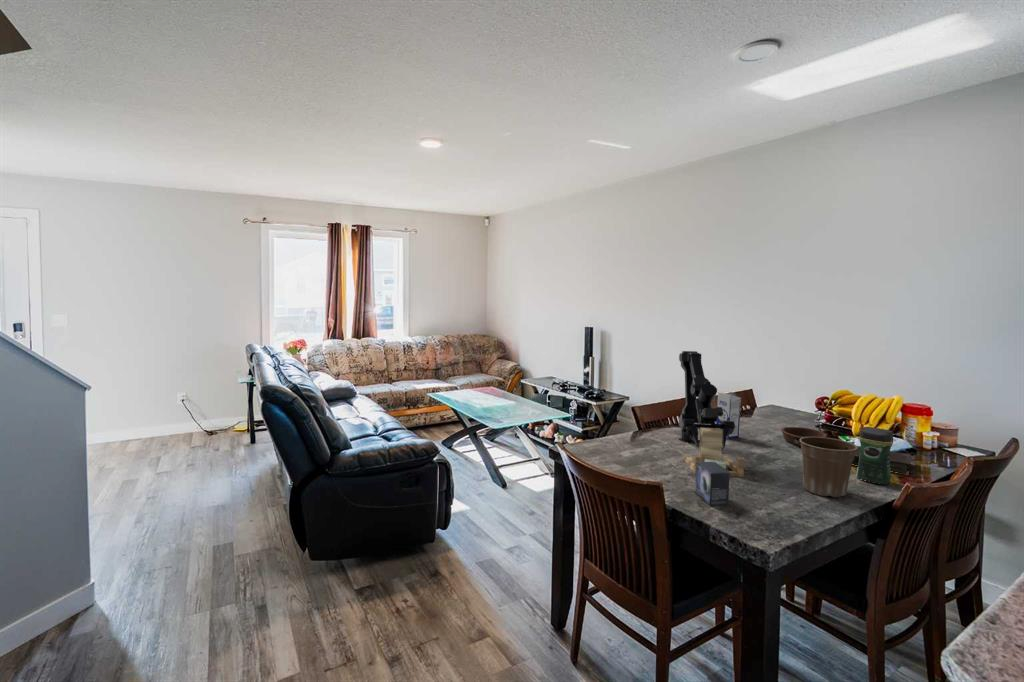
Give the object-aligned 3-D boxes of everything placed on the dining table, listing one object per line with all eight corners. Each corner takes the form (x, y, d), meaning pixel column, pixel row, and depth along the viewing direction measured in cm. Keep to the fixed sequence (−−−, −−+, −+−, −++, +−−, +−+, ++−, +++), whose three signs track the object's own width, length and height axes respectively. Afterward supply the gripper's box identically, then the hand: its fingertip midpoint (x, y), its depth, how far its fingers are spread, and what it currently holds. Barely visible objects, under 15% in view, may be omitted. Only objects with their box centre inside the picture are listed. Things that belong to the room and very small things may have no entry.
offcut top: (704, 463, 192) (704, 458, 192) (725, 465, 190) (725, 461, 190) (704, 466, 189) (704, 461, 188) (725, 468, 186) (726, 464, 186)
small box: (693, 492, 170) (695, 461, 169) (713, 492, 171) (714, 460, 170) (708, 506, 160) (710, 472, 159) (729, 505, 160) (731, 472, 159)
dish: (776, 445, 226) (777, 433, 225) (783, 434, 244) (784, 423, 243) (823, 452, 216) (824, 440, 215) (827, 440, 234) (828, 429, 233)
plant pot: (809, 478, 185) (812, 433, 183) (861, 492, 172) (865, 444, 170) (787, 489, 174) (790, 441, 173) (841, 504, 162) (845, 453, 160)
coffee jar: (892, 482, 182) (897, 429, 181) (886, 487, 177) (890, 433, 175) (860, 474, 190) (864, 423, 188) (853, 479, 184) (857, 427, 183)
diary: (834, 452, 218) (834, 440, 218) (909, 465, 203) (910, 452, 203) (828, 463, 203) (829, 450, 203) (909, 478, 188) (910, 464, 188)
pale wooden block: (698, 464, 198) (700, 427, 197) (717, 465, 198) (719, 428, 196) (700, 467, 195) (702, 430, 193) (720, 468, 194) (722, 430, 193)
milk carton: (715, 435, 239) (717, 391, 237) (726, 433, 242) (728, 390, 240) (727, 439, 233) (730, 394, 231) (739, 437, 235) (741, 393, 233)
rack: (683, 460, 202) (684, 443, 201) (728, 462, 200) (729, 444, 200) (694, 476, 185) (695, 456, 184) (743, 478, 183) (744, 459, 183)
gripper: (683, 398, 199) (689, 434, 189) (735, 399, 198) (743, 436, 188) (678, 413, 208) (683, 449, 198) (727, 415, 206) (735, 451, 196)
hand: (711, 446), depth 195 cm, fingers open, 9 cm apart
